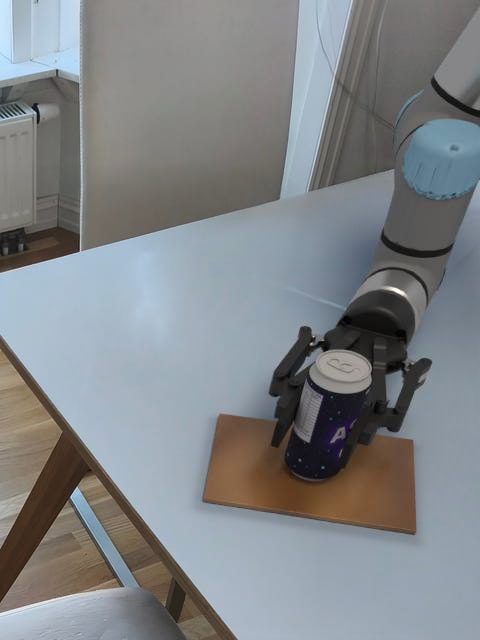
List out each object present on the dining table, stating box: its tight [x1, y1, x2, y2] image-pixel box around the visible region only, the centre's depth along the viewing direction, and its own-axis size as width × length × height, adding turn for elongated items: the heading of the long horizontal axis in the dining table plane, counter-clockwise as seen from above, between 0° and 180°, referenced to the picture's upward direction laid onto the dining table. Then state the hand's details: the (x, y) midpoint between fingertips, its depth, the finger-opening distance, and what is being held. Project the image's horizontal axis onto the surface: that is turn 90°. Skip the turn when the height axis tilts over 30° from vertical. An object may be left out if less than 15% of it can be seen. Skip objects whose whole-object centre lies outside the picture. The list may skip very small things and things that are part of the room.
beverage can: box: [284, 350, 372, 481], centre depth 84 cm, size 6×6×12 cm
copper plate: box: [202, 413, 417, 535], centre depth 89 cm, size 20×14×1 cm
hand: (310, 445), depth 81 cm, fingers closed on beverage can, 6 cm apart
